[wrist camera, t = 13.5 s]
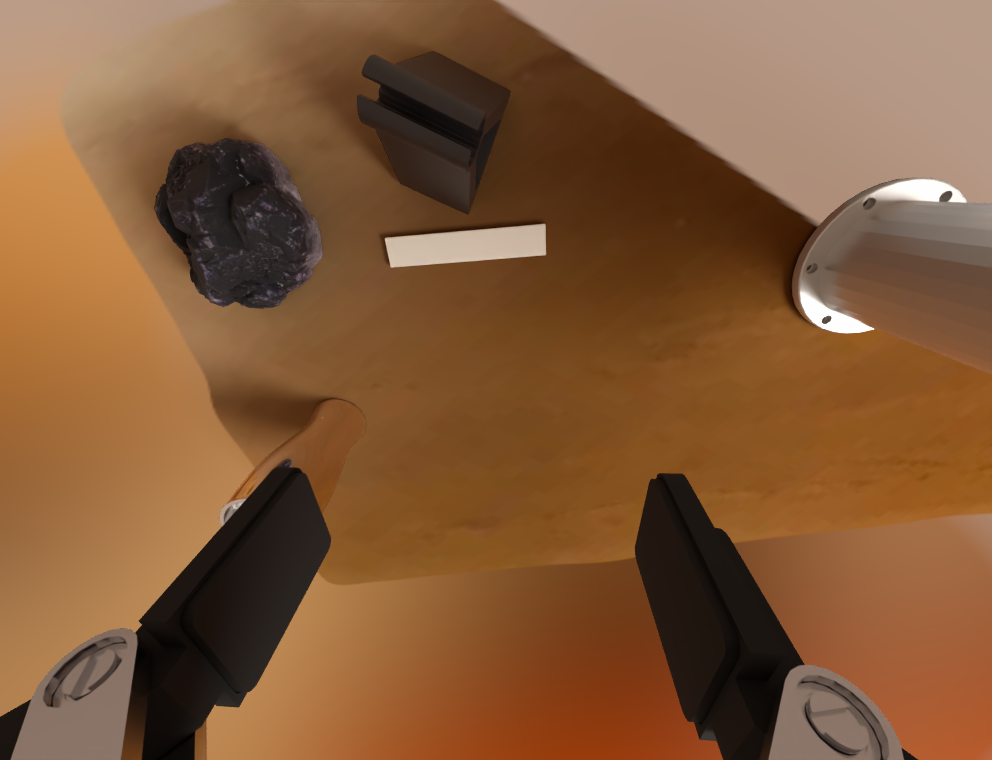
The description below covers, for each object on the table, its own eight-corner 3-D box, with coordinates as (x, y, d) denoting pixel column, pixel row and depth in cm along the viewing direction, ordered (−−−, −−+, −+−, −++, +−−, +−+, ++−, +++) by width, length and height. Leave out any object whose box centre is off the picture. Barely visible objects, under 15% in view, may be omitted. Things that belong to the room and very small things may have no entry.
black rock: (192, 274, 35) (100, 317, 27) (156, 105, 28) (15, 93, 19) (334, 306, 37) (289, 355, 29) (336, 158, 30) (277, 167, 21)
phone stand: (435, 52, 26) (382, -42, 15) (511, 92, 27) (511, 30, 16) (401, 183, 30) (340, 181, 19) (468, 214, 31) (445, 229, 20)
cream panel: (544, 223, 31) (545, 224, 30) (545, 254, 32) (545, 255, 31) (386, 237, 32) (384, 238, 31) (392, 266, 33) (390, 267, 32)
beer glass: (382, 421, 41) (322, 530, 28) (349, 453, 44) (279, 568, 31) (331, 383, 39) (239, 483, 26) (299, 420, 42) (201, 527, 29)
